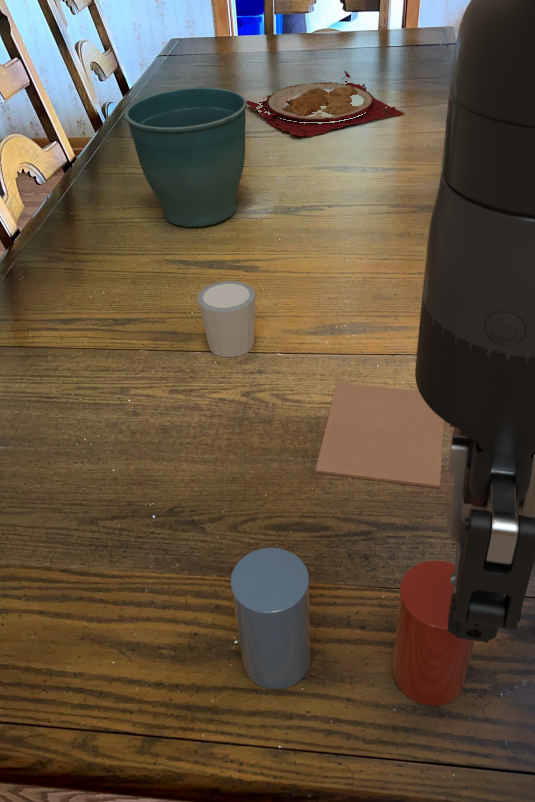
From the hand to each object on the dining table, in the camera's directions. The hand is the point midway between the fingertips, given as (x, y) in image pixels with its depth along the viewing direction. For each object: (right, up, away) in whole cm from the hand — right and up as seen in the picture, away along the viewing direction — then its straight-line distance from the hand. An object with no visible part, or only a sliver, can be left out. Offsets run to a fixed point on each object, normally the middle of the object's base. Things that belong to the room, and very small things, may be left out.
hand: (471, 559), depth 37 cm
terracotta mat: (+1, +5, +37) cm, 38 cm away
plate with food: (+1, +69, +114) cm, 134 cm away
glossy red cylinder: (+1, -12, +17) cm, 21 cm away
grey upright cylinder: (-10, -12, +18) cm, 24 cm away
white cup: (-15, +15, +51) cm, 55 cm away
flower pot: (-22, +39, +80) cm, 92 cm away
